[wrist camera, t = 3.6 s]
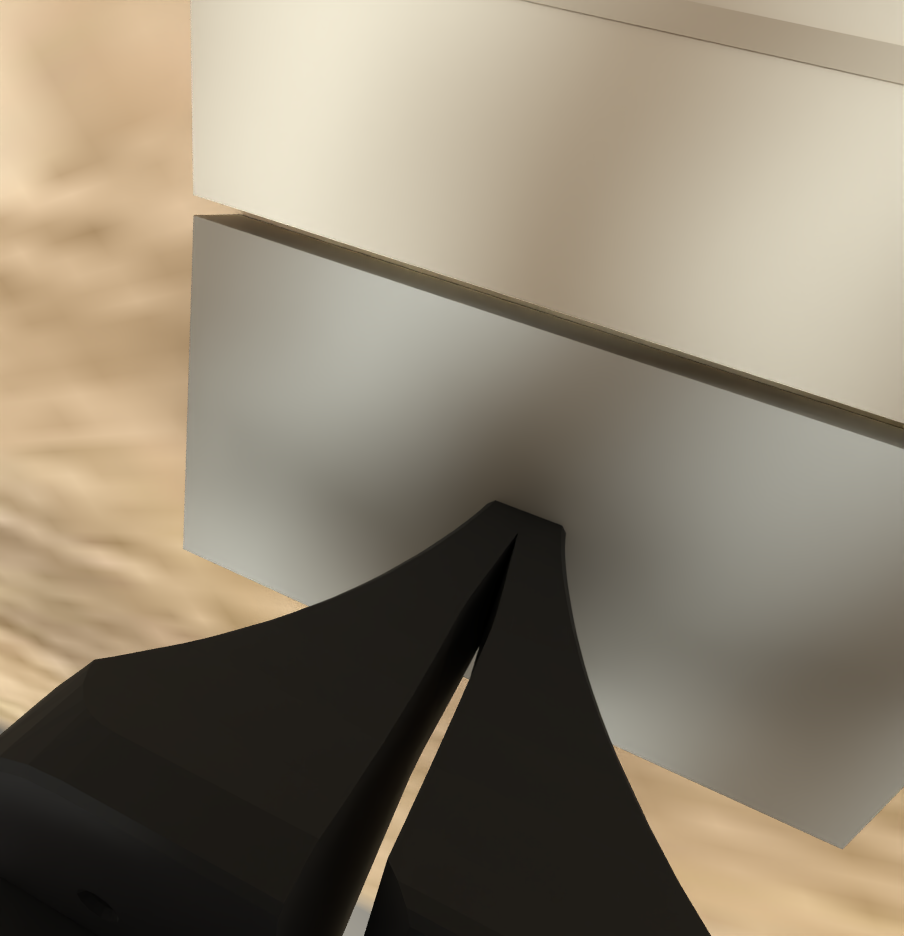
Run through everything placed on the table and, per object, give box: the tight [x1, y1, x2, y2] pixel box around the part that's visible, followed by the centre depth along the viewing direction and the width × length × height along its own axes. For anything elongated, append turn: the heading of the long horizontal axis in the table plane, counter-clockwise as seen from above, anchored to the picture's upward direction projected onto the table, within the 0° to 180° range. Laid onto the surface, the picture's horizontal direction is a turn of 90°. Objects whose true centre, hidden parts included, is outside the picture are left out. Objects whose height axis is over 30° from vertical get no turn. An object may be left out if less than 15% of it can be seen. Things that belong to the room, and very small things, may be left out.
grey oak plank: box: [183, 214, 904, 849], centre depth 11 cm, size 14×7×1 cm, turn 77°
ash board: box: [190, 0, 904, 423], centre depth 7 cm, size 14×7×1 cm, turn 77°
